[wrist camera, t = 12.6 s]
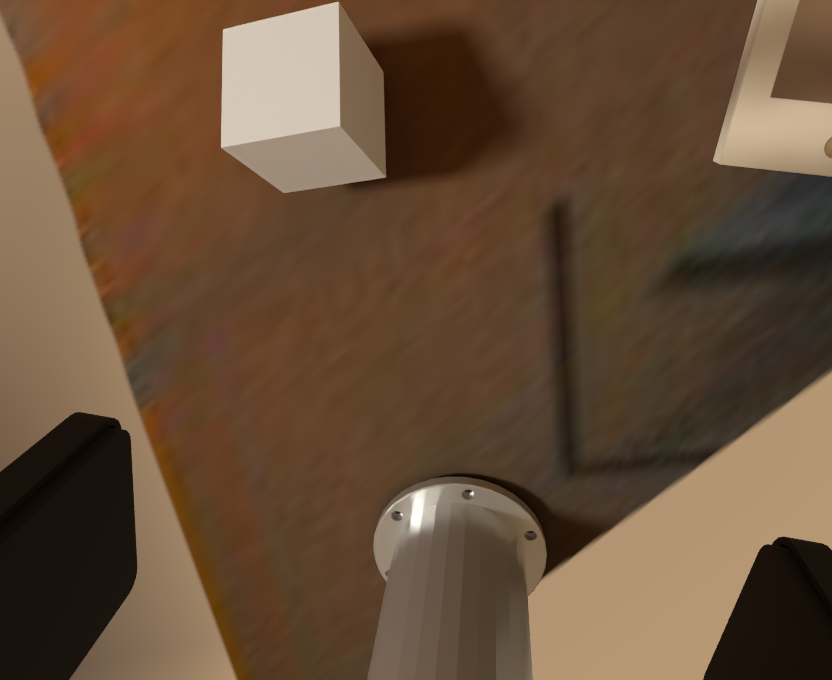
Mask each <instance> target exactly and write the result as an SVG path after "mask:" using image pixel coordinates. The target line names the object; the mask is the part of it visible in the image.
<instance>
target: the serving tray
mask: <svg viewBox="0 0 832 680" xmlns="http://www.w3.org/2000/svg"><path fill="white" fill-rule="evenodd" d="M713 161H714V162H716V163H718V164H721V165H730V166H740V167H749V168H758V169H767V170H776V171H786V172H795V173H804V174H813V175H823V176H832V0H758V1H757V4H756V8H755V11H754V15H753V19H752V22H751V26H750V29H749V33H748V37H747V40H746V44H745V47H744V51H743V55H742V58H741V62H740V65H739V69H738V72H737V76H736V80H735V83H734V87H733V90H732V94H731V98H730V101H729V105H728V108H727V112H726V116H725V119H724V123H723V126H722V130H721V134H720V137H719V141H718V144H717V148H716V151H715V155H714V159H713Z"/></svg>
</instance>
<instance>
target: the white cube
mask: <svg viewBox="0 0 832 680" xmlns="http://www.w3.org/2000/svg"><path fill="white" fill-rule="evenodd" d="M221 148H222V149H224V150H225V151H226V152H228V153H229V154H231V155H232V156H233V157H235V158H236V159H237V160H239V161H240V162H242V163H243V164H244V165H246V166H247V167H248V168H250V169H251V170H253V171H254V172H255V173H257V174H258V175H260V176H261V177H262V178H264V179H265V180H266V181H268V182H269V183H271V184H272V185H273V186H275V187H276V188H278V189H279V190H280V191H282V192H283V193H288V192H294V191H301V190H307V189H314V188H321V187H327V186H334V185H340V184H347V183H353V182H360V181H366V180H373V179H380V178H386V152H385V110H384V72H383V70H382V69H381V67H380V66H379V64H378V63H377V61H376V59H375V58H374V56H373V55H372V53H371V52H370V50H369V48H368V47H367V45H366V44H365V42H364V41H363V39H362V37H361V36H360V34H359V33H358V31H357V30H356V28H355V27H354V25H353V23H352V22H351V20H350V19H349V17H348V16H347V14H346V12H345V11H344V9H343V8H342V6H341V5H340V3H339V2H335V3H331V4H327V5H322V6H318V7H314V8H310V9H306V10H302V11H297V12H293V13H289V14H285V15H281V16H277V17H272V18H268V19H264V20H260V21H256V22H252V23H248V24H243V25H239V26H235V27H231V28H227V29H223V61H222V122H221Z"/></svg>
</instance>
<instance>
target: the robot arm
mask: <svg viewBox="0 0 832 680" xmlns="http://www.w3.org/2000/svg"><path fill="white" fill-rule="evenodd" d="M373 549H374V555H375V561H376V564H377V566H378V569H379V571H380V573H381V575H382V576H383V578H384V579H385V581H386V582H387V584H386V589H385V594H384V599H383V604H382V609H381V614H380V619H379V624H378V629H377V634H376V639H375V644H374V649H373V654H372V659H371V664H370V669H369V674H368V679H367V680H533V677H532V661H531V645H530V630H529V614H528V596H529V595H530V594H531V593H532V592H533V591H534V589H535V588H536V586H537V585H538V583H539V582H540V580H541V578H542V575H543V573H544V570H545V567H546V557H547V552H546V542H545V537H544V533H543V530H542V527H541V525H540V523H539V521H538V519H537V517H536V516H535V514H534V513H533V512H532V511H531V509H530V508H529V507H528V506H527V505H526V503H524V502H523V501H522V500H521V499H519V498H518V497H517V496H516V495H514V494H513V493H511V492H509V491H508V490H506V489H504V488H502V487H500V486H498V485H495V484H493V483H490V482H487V481H484V480H480V479H474V478H469V477H441V478H434V479H430V480H426V481H423V482H420V483H417V484H415V485H413V486H411V487H409V488H407V489H405V490H403V491H402V492H401V493H400V494H398V495H397V496H396V497H395V498H393V499H392V500H391V501H390V503H389V504H388V505H387V506H386V508H385V509H384V510H383V512H382V514H381V516H380V518H379V521H378V523H377V528H376V531H375V535H374V546H373ZM136 574H137V554H136V534H135V515H134V494H133V475H132V457H131V440H130V435H129V433H128V432H127V431H126V430H121V425H120V423H119V421H118V420H116V419H115V418H110V417H104V416H98V415H93V414H87V413H81V412H78V413H74V414H72V415H70V416H69V417H68V418H67V419H65V420H64V421H63V422H62V423H60V424H59V425H58V426H57V427H56V428H54V429H53V430H52V431H50V432H49V433H48V434H47V435H46V436H44V437H43V438H42V439H41V440H39V441H38V442H37V443H36V444H34V445H33V446H32V447H31V448H30V449H29V450H27V451H26V452H25V453H23V454H22V455H21V456H20V457H18V458H17V459H16V460H15V461H13V462H12V463H11V464H10V465H8V466H7V467H6V468H5V469H4V470H2V471H1V472H0V680H69V679H70V678H71V676H72V675H73V673H74V672H75V671H76V669H77V668H78V666H79V665H80V663H81V662H82V661H83V659H84V658H85V656H86V655H87V653H88V652H89V650H90V649H91V648H92V646H93V645H94V643H95V642H96V640H97V639H98V637H99V636H100V635H101V633H102V632H103V630H104V629H105V627H106V626H107V625H108V623H109V622H110V620H111V619H112V617H113V616H114V615H115V613H116V612H117V610H118V609H119V608H120V606H121V605H122V603H123V602H124V600H125V599H126V597H127V596H128V594H129V593H130V591H131V589H132V587H133V585H134V581H135V579H136ZM703 680H832V550H831V549H830V548H829V547H828V546H827V545H824V544H822V543H816V542H811V541H805V540H799V539H794V538H788V537H779V538H778V539H776V540H775V541H774V542H773V544H772V545H764V546H763V547H762V548H761V549H760V551H759V552H758V555H757V557H756V559H755V562H754V564H753V566H752V568H751V571H750V573H749V575H748V577H747V580H746V582H745V584H744V586H743V589H742V591H741V593H740V596H739V598H738V600H737V602H736V605H735V607H734V609H733V611H732V614H731V616H730V618H729V620H728V623H727V625H726V627H725V630H724V632H723V634H722V636H721V639H720V641H719V643H718V645H717V648H716V650H715V652H714V655H713V657H712V659H711V661H710V664H709V666H708V668H707V670H706V673H705V676H704V679H703Z"/></svg>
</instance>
